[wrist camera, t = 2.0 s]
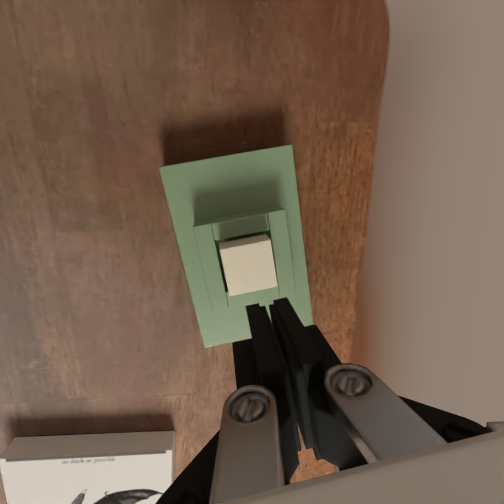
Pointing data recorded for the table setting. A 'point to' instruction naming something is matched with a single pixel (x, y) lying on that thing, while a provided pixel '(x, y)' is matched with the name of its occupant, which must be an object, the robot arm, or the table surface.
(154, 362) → the table surface
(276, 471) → the robot arm
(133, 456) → the book
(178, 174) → the green block
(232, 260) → the ivory key
